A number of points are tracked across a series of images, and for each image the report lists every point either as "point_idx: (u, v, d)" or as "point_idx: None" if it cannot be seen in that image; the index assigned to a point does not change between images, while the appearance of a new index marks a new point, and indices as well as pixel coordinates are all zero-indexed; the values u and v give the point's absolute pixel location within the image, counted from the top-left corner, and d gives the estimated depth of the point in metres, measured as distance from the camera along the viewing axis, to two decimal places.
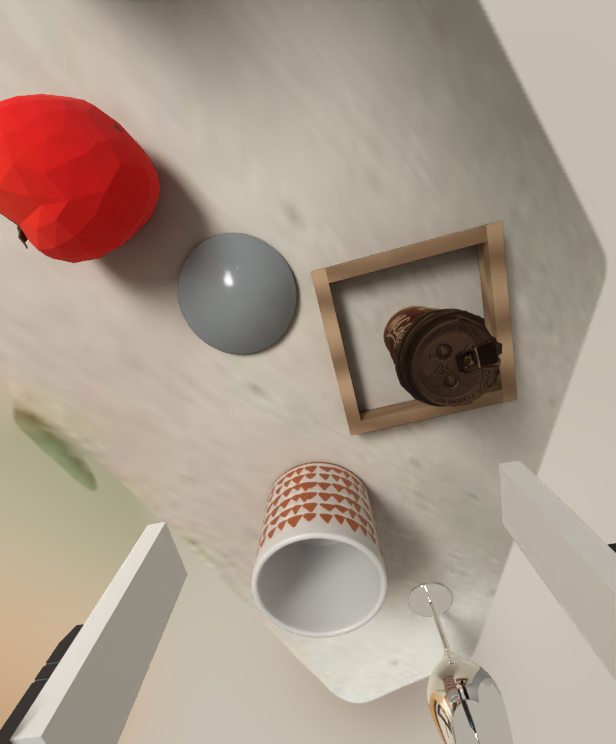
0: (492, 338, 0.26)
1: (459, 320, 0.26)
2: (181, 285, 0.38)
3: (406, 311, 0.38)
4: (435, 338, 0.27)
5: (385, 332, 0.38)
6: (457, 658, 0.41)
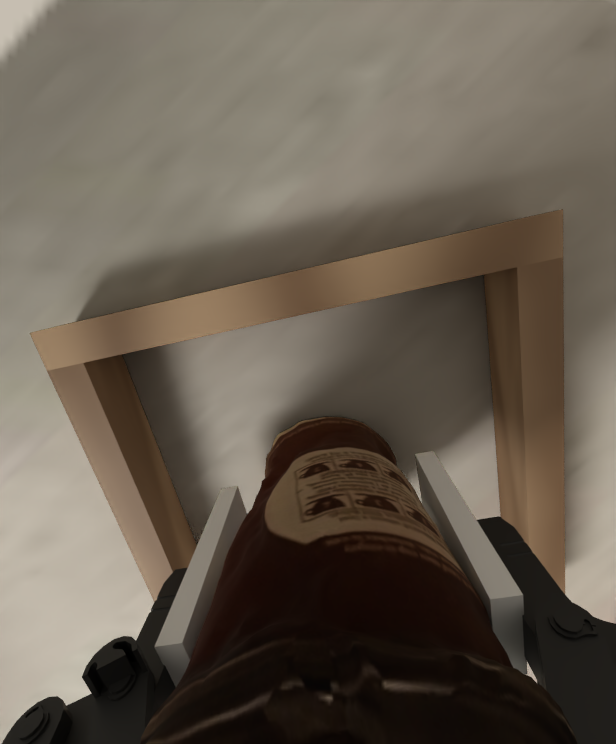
0: None
1: None
2: None
3: None
4: None
5: None
6: None
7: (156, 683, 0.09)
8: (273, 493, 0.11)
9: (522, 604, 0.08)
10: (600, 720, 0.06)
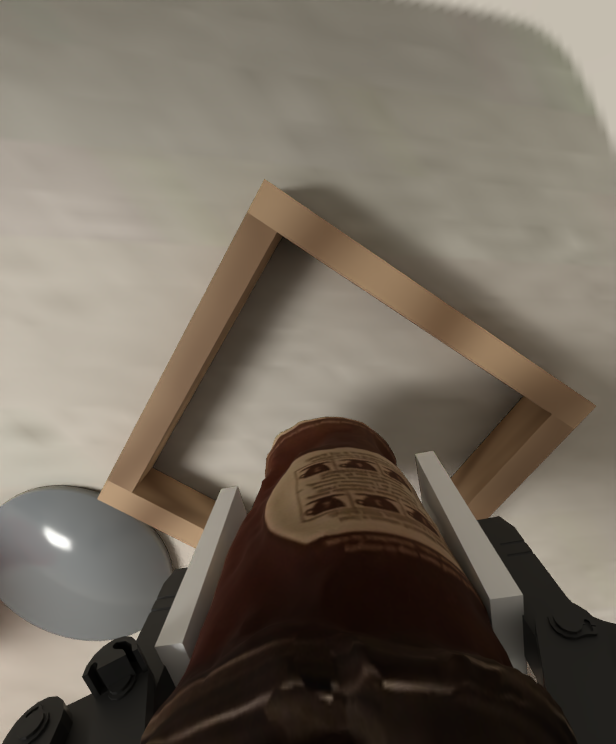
0: None
1: None
2: (13, 606, 0.25)
3: None
4: None
5: None
6: None
7: (156, 683, 0.09)
8: (273, 493, 0.11)
9: (522, 604, 0.08)
10: (600, 720, 0.06)
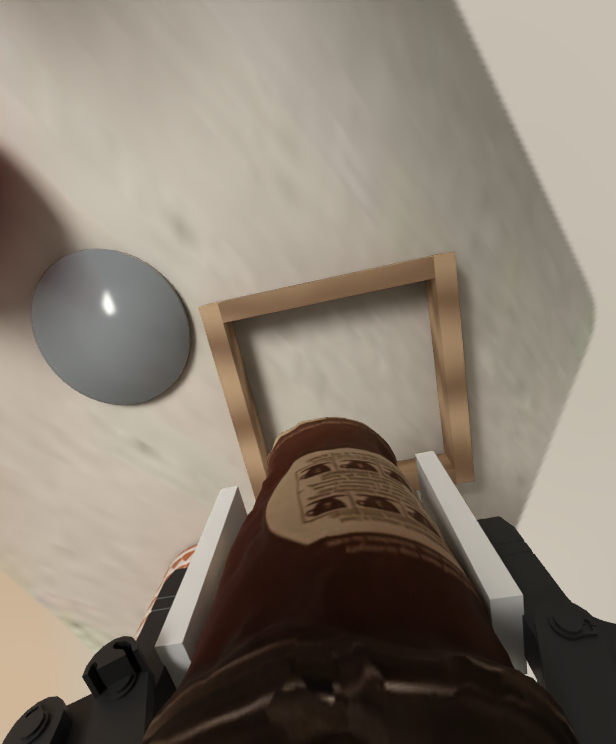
0: None
1: None
2: (35, 314, 0.28)
3: None
4: None
5: None
6: None
7: (156, 683, 0.09)
8: (274, 494, 0.11)
9: (522, 604, 0.08)
10: (600, 720, 0.06)
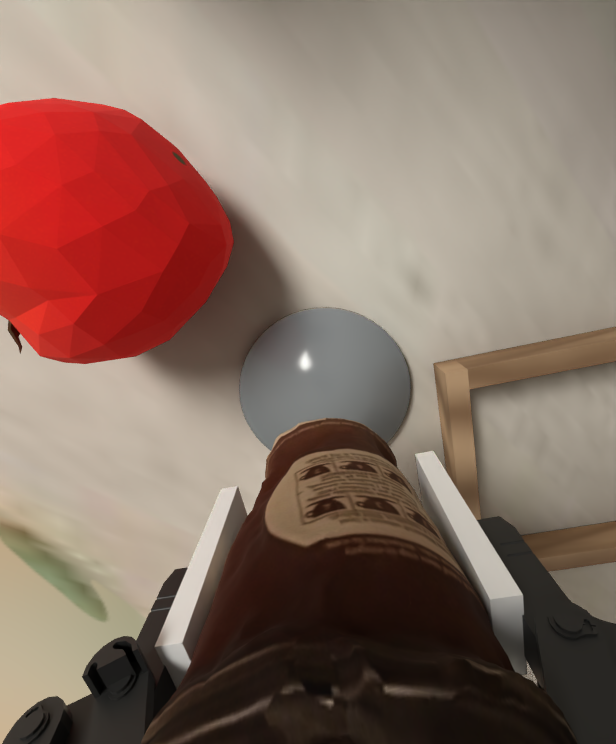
0: None
1: None
2: (245, 376, 0.26)
3: None
4: None
5: None
6: None
7: (156, 683, 0.09)
8: (273, 495, 0.11)
9: (522, 604, 0.08)
10: (600, 720, 0.06)
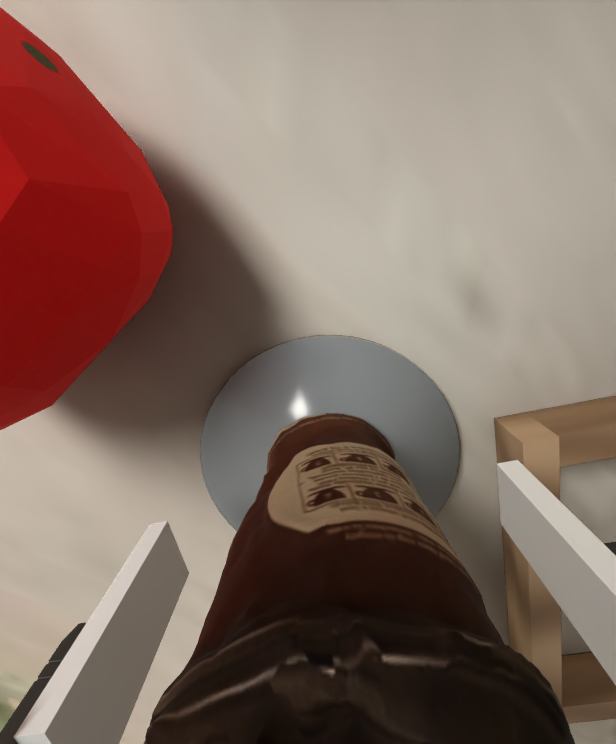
0: None
1: None
2: (209, 438, 0.17)
3: None
4: None
5: None
6: None
7: None
8: (275, 486, 0.11)
9: None
10: None
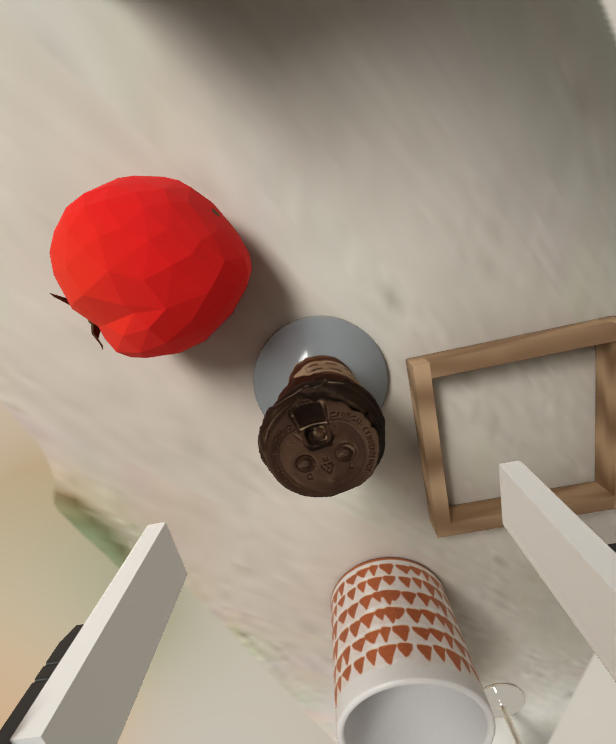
0: (287, 414, 0.20)
1: (265, 451, 0.21)
2: (258, 370, 0.33)
3: None
4: (287, 474, 0.22)
5: None
6: None
7: None
8: (296, 374, 0.27)
9: None
10: None
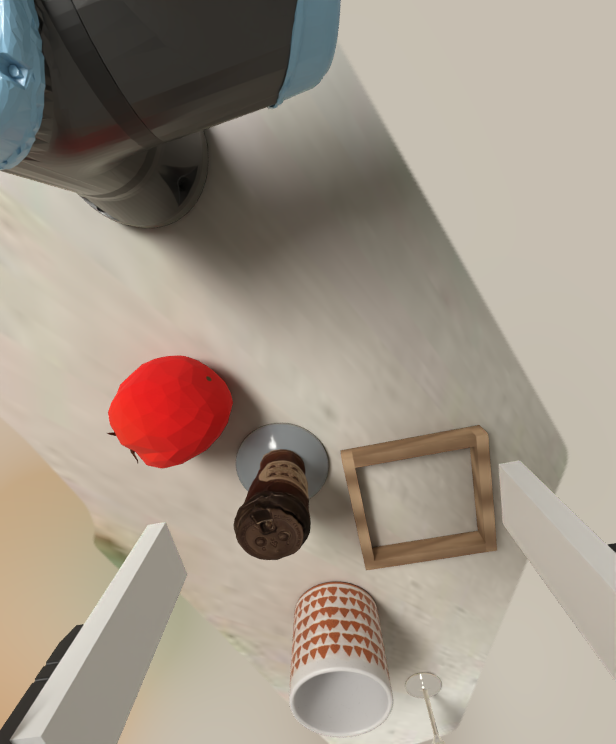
0: (249, 516, 0.36)
1: (237, 535, 0.36)
2: (239, 457, 0.48)
3: None
4: (250, 547, 0.37)
5: None
6: None
7: None
8: (261, 472, 0.42)
9: None
10: None
